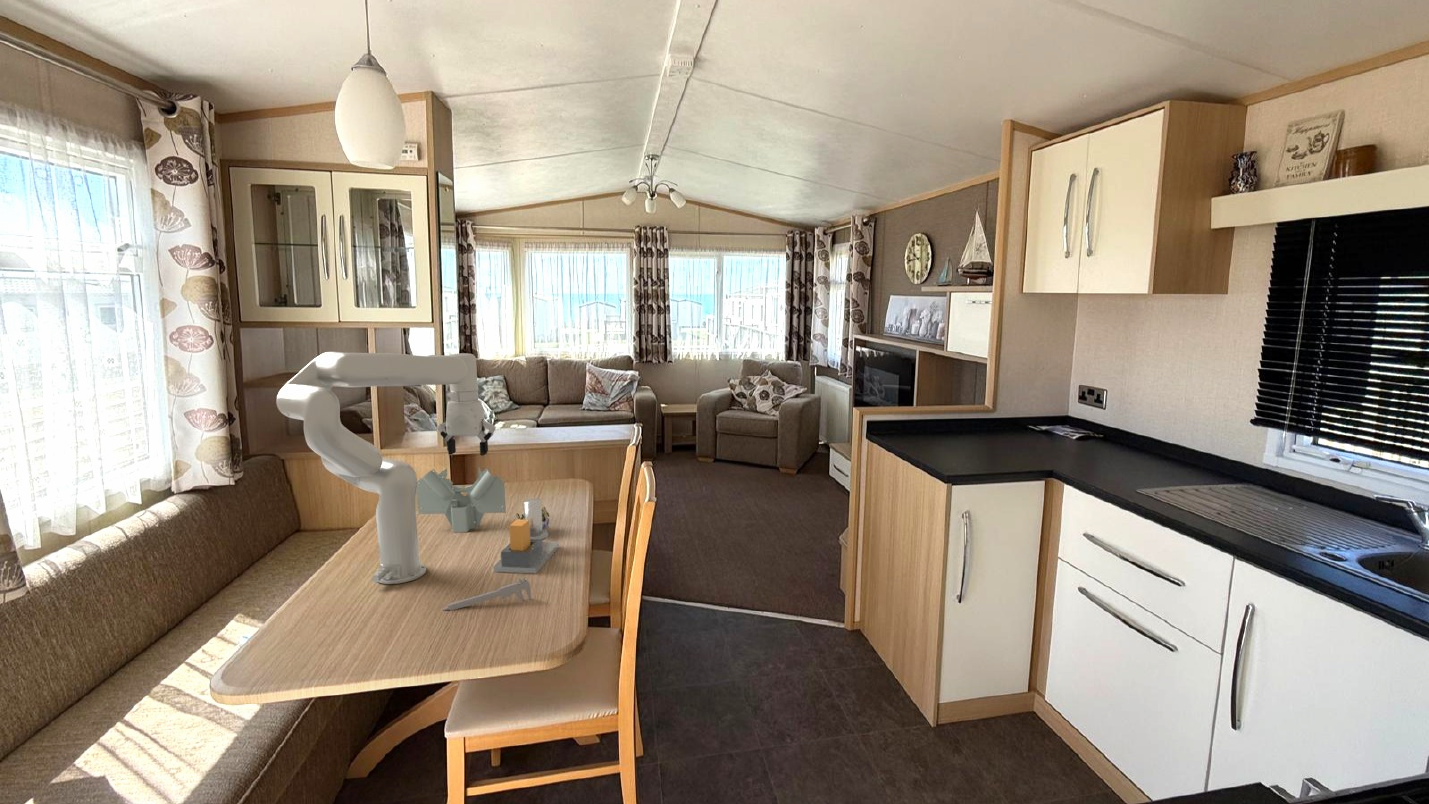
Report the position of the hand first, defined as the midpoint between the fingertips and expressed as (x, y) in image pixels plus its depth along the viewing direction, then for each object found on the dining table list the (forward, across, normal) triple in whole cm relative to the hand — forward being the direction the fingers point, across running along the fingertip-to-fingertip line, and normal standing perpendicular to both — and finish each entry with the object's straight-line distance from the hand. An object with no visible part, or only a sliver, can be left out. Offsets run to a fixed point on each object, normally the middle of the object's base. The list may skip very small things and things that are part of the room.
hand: (467, 454), depth 197 cm
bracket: (+28, -10, +14) cm, 33 cm away
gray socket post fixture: (+28, +20, -8) cm, 36 cm away
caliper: (+29, +21, -36) cm, 51 cm away
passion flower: (+29, +14, +12) cm, 34 cm away
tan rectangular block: (+27, +20, -13) cm, 36 cm away
